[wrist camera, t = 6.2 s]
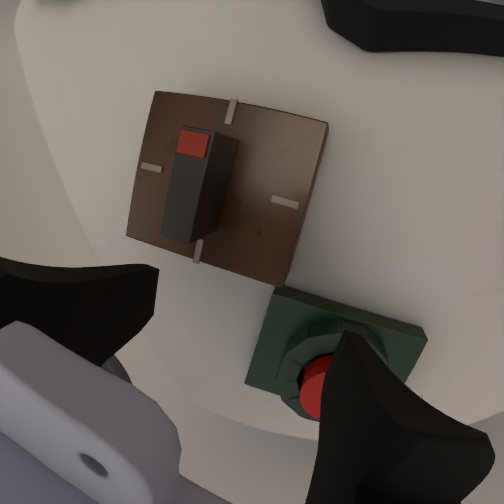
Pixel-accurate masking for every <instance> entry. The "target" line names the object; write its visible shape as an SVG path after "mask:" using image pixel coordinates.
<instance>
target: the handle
mask: <svg viewBox="0 0 504 504" xmlns="http://www.w3.org/2000/svg"><path fill="white" fill-rule="evenodd" d="M238 142H239V140H238V139H235V138H232V137H230V136H227V135H224V134H221V133H218V132H216V131H211V130H206V129H201V128H196V127H190V126H185V125H183V126H182V128H181V132H180V136H179V140H178V145H177V149H176V153H175V158H174V162H173V166H172V171H171V176H170V180H169V185H168V190H167V195H166V200H165V205H164V210H163V216H162V221H161V227H160V232H159V234H160V235H162V236H165V237H168V238H171V239H174V240H177V241H180V242H183V243H186V244H192V243H194V242H195V241H197V240H199V239H201V238H203V237H205V236H207V235H209V234H211V233H213V232H215V231H217V228H218V223H219V219H220V215H221V211H222V206H223V202H224V198H225V194H226V190H227V186H228V182H229V177H230V173H231V169H232V165H233V161H234V157H235V154H236V150H237V146H238Z"/></svg>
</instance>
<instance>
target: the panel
mask: <svg viewBox="0 0 504 504" xmlns="http://www.w3.org/2000/svg"><path fill="white" fill-rule="evenodd" d="M183 125H185V126H190V127H196V128H201V129H206V130H211V131H216V132H218V133H221V134H224V135H227V136H230V137H232V138H235V139H238V140H239V142H238V146H237V150H236V154H235V157H234V161H233V165H232V169H231V173H230V177H229V182H228V186H227V190H226V194H225V198H224V202H223V206H222V211H221V215H220V219H219V223H218V228H217V231H215V232H213V233H211V234H209V235H207V236H205V237H203V238H201V239H199V240H197V241H195V242H194V243H192V244H186V243H183V242H180V241H177V240H174V239H171V238H168V237H165V236H162V235H160V234H159V232H160V227H161V221H162V216H163V210H164V205H165V200H166V195H167V190H168V185H169V180H170V176H171V171H172V166H173V162H174V158H175V153H176V149H177V145H178V140H179V136H180V132H181V128H182V126H183ZM328 132H329V124H328V123H327V122H324V121H320V120H316V119H313V118H309V117H305V116H301V115H297V114H292V113H288V112H284V111H280V110H275V109H270V108H266V107H261V106H256V105H251V104H246V103H240V102H238V100H237V99H232V98H231V100H230V101H229V100H223V99H217V98H210V97H204V96H197V95H189V94H181V93H172V92H163V91H155V93H154V97H153V101H152V105H151V109H150V113H149V117H148V121H147V125H146V129H145V134H144V138H143V142H142V147H141V152H140V157H139V161H138V166H137V172H136V177H135V182H134V188H133V194H132V200H131V206H130V212H129V219H128V225H127V233H126V236H128V237H131V238H134V239H137V240H140V241H142V242H145V243H148V244H151V245H154V246H157V247H160V248H163V249H165V250H168V251H171V252H174V253H177V254H180V255H183V256H186V257H189V258H192V259H193V262H194V263H197V264H199V263H200V261H201V262H204V263H207V264H210V265H213V266H216V267H219V268H222V269H225V270H228V271H231V272H234V273H237V274H240V275H243V276H246V277H249V278H252V279H255V280H258V281H261V282H265V283H268V284H271V285H274V286H277V287H280V288H282V287H283V285H284V283H285V281H286V279H287V276H288V274H289V271H290V267H291V264H292V261H293V257H294V254H295V251H296V247H297V244H298V241H299V237H300V234H301V230H302V227H303V223H304V220H305V216H306V213H307V209H308V206H309V202H310V199H311V195H312V192H313V188H314V184H315V181H316V177H317V173H318V170H319V166H320V162H321V158H322V155H323V151H324V147H325V143H326V139H327V136H328Z"/></svg>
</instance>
